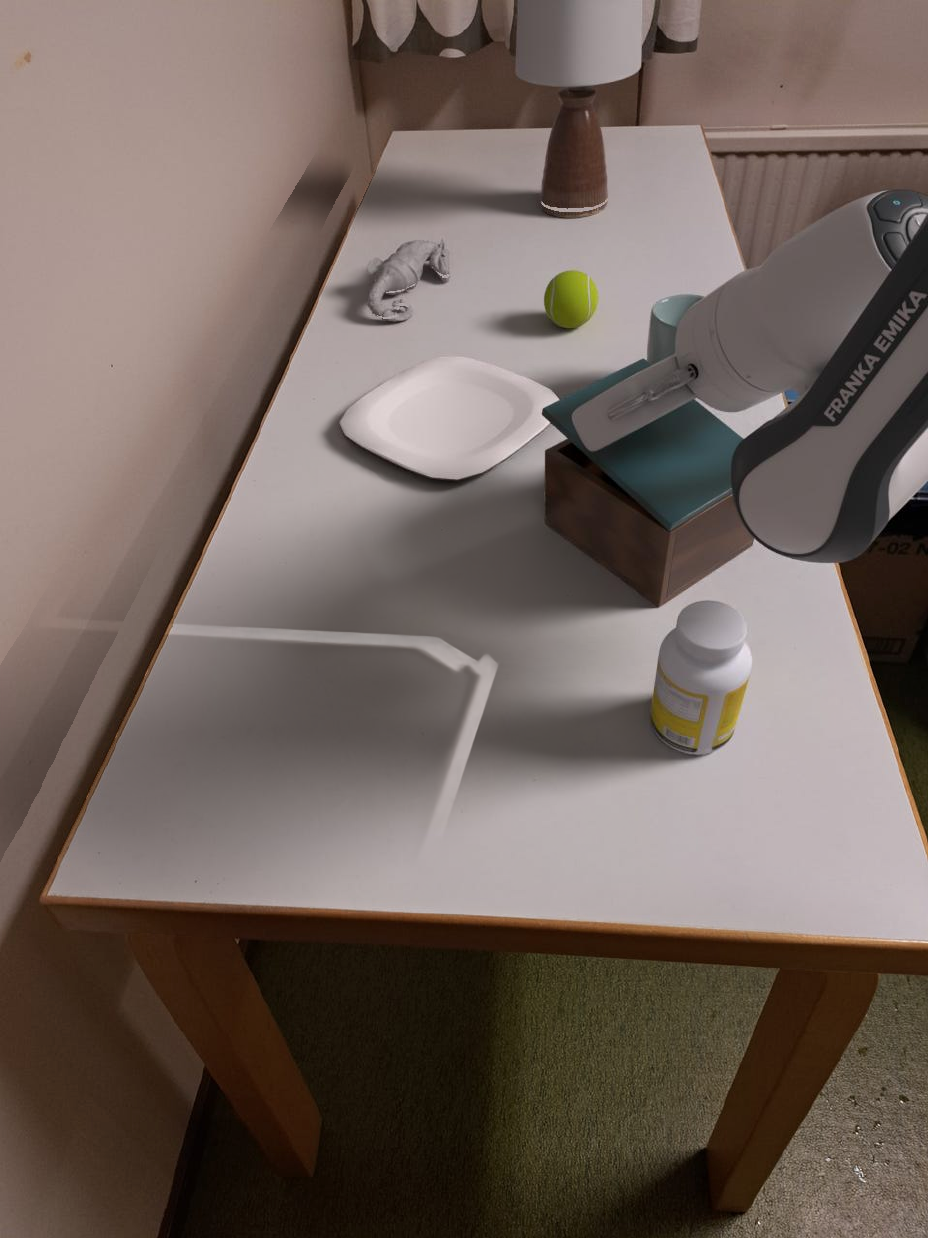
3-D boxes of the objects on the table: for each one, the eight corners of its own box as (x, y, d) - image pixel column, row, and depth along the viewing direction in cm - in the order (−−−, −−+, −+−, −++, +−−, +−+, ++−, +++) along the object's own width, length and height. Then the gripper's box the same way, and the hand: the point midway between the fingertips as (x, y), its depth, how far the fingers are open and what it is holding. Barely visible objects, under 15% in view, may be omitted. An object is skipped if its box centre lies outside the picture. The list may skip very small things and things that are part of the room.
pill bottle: (735, 699, 67) (763, 597, 59) (731, 766, 63) (760, 666, 55) (653, 685, 69) (669, 584, 60) (643, 750, 64) (659, 650, 56)
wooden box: (544, 523, 84) (544, 450, 77) (634, 471, 88) (642, 399, 82) (659, 608, 75) (670, 532, 68) (752, 545, 79) (771, 470, 73)
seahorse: (436, 318, 112) (461, 235, 123) (353, 291, 111) (386, 209, 122) (428, 348, 117) (453, 265, 128) (348, 322, 115) (380, 240, 126)
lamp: (557, 238, 130) (562, -65, 104) (497, 201, 142) (487, -79, 115) (653, 208, 136) (681, -87, 109) (588, 175, 147) (598, -98, 121)
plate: (460, 505, 86) (459, 492, 85) (319, 435, 97) (316, 423, 96) (582, 410, 97) (583, 397, 96) (443, 356, 108) (442, 344, 106)
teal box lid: (541, 414, 75) (542, 407, 74) (641, 364, 80) (643, 357, 79) (669, 531, 68) (672, 525, 68) (770, 469, 73) (774, 462, 72)
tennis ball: (596, 311, 113) (599, 260, 108) (596, 337, 108) (599, 284, 103) (544, 312, 114) (544, 261, 109) (542, 338, 109) (543, 285, 104)
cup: (632, 382, 100) (639, 302, 93) (691, 368, 102) (702, 288, 94) (661, 415, 95) (671, 333, 88) (723, 400, 96) (738, 318, 89)
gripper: (656, 441, 58) (559, 488, 71) (840, 338, 66) (723, 397, 78) (615, 358, 57) (525, 421, 70) (806, 264, 65) (693, 336, 78)
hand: (631, 408), depth 74 cm, fingers closed, pressing on teal box lid
